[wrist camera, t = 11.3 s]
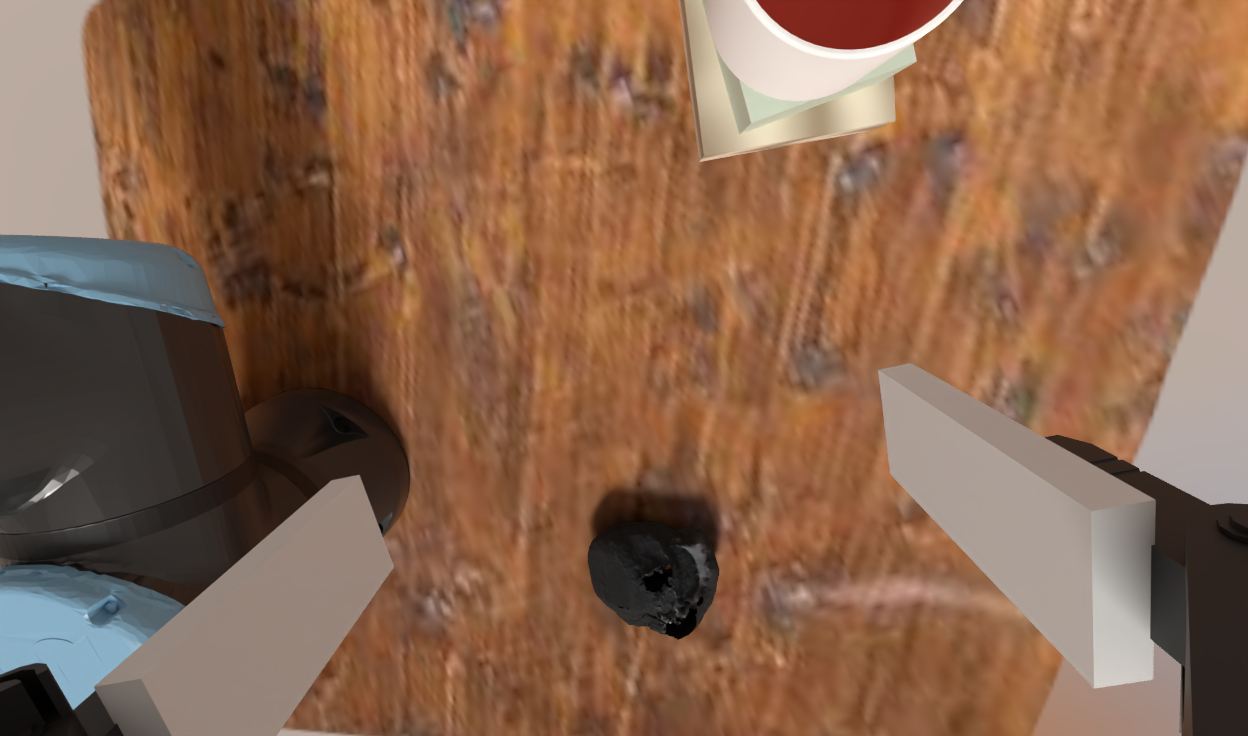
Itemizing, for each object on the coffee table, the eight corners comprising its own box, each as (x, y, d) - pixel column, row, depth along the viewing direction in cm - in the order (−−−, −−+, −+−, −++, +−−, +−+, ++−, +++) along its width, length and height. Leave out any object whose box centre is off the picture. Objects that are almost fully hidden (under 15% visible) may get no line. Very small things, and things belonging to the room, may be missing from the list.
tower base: (698, 162, 42) (703, 156, 37) (674, -23, 39) (677, -57, 34) (867, 131, 41) (895, 121, 36) (856, -62, 38) (885, -102, 33)
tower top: (739, 134, 36) (751, 123, 32) (696, -17, 34) (702, -54, 30) (881, 81, 35) (916, 61, 30) (846, -79, 33) (877, -129, 28)
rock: (671, 541, 56) (574, 565, 53) (703, 495, 49) (592, 519, 45) (707, 639, 51) (602, 672, 48) (749, 604, 44) (628, 640, 40)
